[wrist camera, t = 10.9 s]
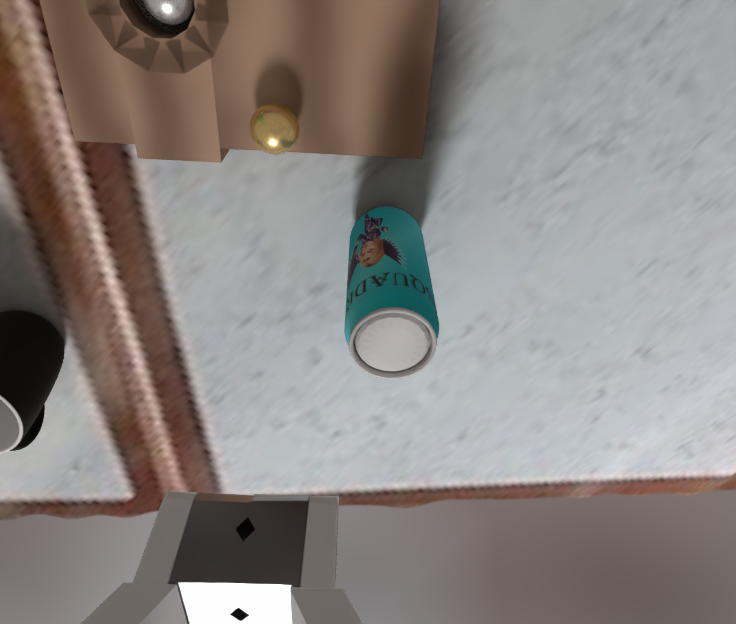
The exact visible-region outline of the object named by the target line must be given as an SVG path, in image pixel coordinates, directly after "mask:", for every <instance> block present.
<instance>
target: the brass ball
mask: <svg viewBox="0 0 736 624" xmlns="http://www.w3.org/2000/svg"><path fill="white" fill-rule="evenodd" d="M250 134H251V137H252V140H253V141H254V143H255V144H256V145H257V147H258V148H260V149H261V150H262V151H264V152H266V153H269V154H274V155H277V154H283V153H285V152H287V151H289V150H290V149H292V148H293V146H294V145H295V144H296V142H297V140H298V137H299V123H298V120H297V118H296V116H295V114H294V113H293V112H292V111H291V110H290V109H289V108H288V107H286V106H284V105H282V104H279V103H267V104H264V105H262V106H261V107H259V108H258V109H257V110H256V111H255V112H254V114H253V115H252V118H251V121H250Z"/></svg>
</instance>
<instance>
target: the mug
mask: <svg viewBox="0 0 736 624" xmlns="http://www.w3.org/2000/svg"><path fill="white" fill-rule="evenodd" d="M63 359H64V343H63V340H62V337H61V335H60V334H59V332H58V331H57V330H56V328H55V327H54V326H53V325H52V324H50V323H49V322H48V321H46V320H45V319H43V318H41V317H40V316H37V315H35V314H32V313H29V312H25V311H5V312H1V313H0V454H1V453H4V452H7V451H9V450H10V451H15V450H20V449H22V448H24V447H26V446H28V445H29V444H30V443H31V442H32V441H33V440H34V439H35V438H36V436H37V435H38V433H39V431H40V429H41V426H42V423H43V419H44V410H45V406H44V403H45V402H46V400H47V398H48V396H49V394H50V392H51V390H52V388H53V386H54V384H55V381H56V379H57V377H58V375H59V372H60V369H61V366H62V363H63Z"/></svg>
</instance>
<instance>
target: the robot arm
mask: <svg viewBox="0 0 736 624" xmlns="http://www.w3.org/2000/svg"><path fill="white" fill-rule="evenodd" d="M338 507H339V500H338V496H310V495H267V494H254V495H239V494H218V493H199V492H172V491H169V492H168V493H167V495H166V496H165V498H164V499H163V501H162V503H161V506H160V509H159V512H158V515H157V517H156V520H155V523H154V526H153V528H152V531H151V534H150V537H149V539H148V542H147V545H146V548H145V550H144V553H143V556H142V559H141V561H140V564H139V567H138V570H137V572H136V576H135V578H134V581H133V583H123V584H122V585H121V586H120V587H119V588H118V589H117V590H116V591H114V592H113V593H112V594H111V595H110V596H109V597H108V598H107V599H106V600H105V601H104V602H103V603H102V604H101V605H100V606H99V607H98V608H96V609H95V611H93V612H92V613H91V614H90V615H89V616H88V617H87V618H86V619H85V620H84V621H83V622H82V623H81V624H363V623H362V621H361V619H360V618H359V616H358V614H357V612H356V610H355V609H354V607H353V605H352V604H351V602H350V600H349V598H348V596H347V595H346V593H345V591H344V589H342V588H335V586H336V585H335V584H336V565H337V534H338Z"/></svg>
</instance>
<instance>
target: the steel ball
mask: <svg viewBox="0 0 736 624" xmlns="http://www.w3.org/2000/svg"><path fill="white" fill-rule="evenodd" d="M143 3H144V5H145V7H146V9H147V10H148V12H149V13H150V14H151V15H152V16H153V17H154V18H156V19H157V20H159V21H160V22H163V23H165V24H170V25H177V24H181V23H183V22H185V21H187V20H188V19H189V18H190V17H191V16H192V14H193V12H194V10H195V6H194V0H143Z"/></svg>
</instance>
